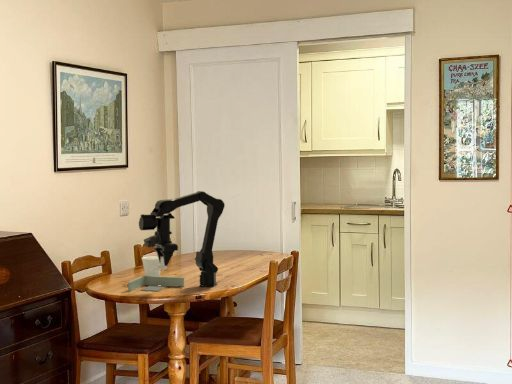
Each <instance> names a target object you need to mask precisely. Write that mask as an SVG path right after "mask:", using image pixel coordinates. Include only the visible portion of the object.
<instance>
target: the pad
mask: <svg viewBox="0 0 512 384" xmlns="http://www.w3.org/2000/svg"><path fill="white" fill-rule="evenodd" d="M165 287H166V288H167V287H168V286H158V285H147V286H146V287H144V288H142V289H140V291H142V290H143V291H144V292H146V291H147V292H159V291H161V289H162V290H163V288H164V289H166V288H165Z"/></svg>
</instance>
